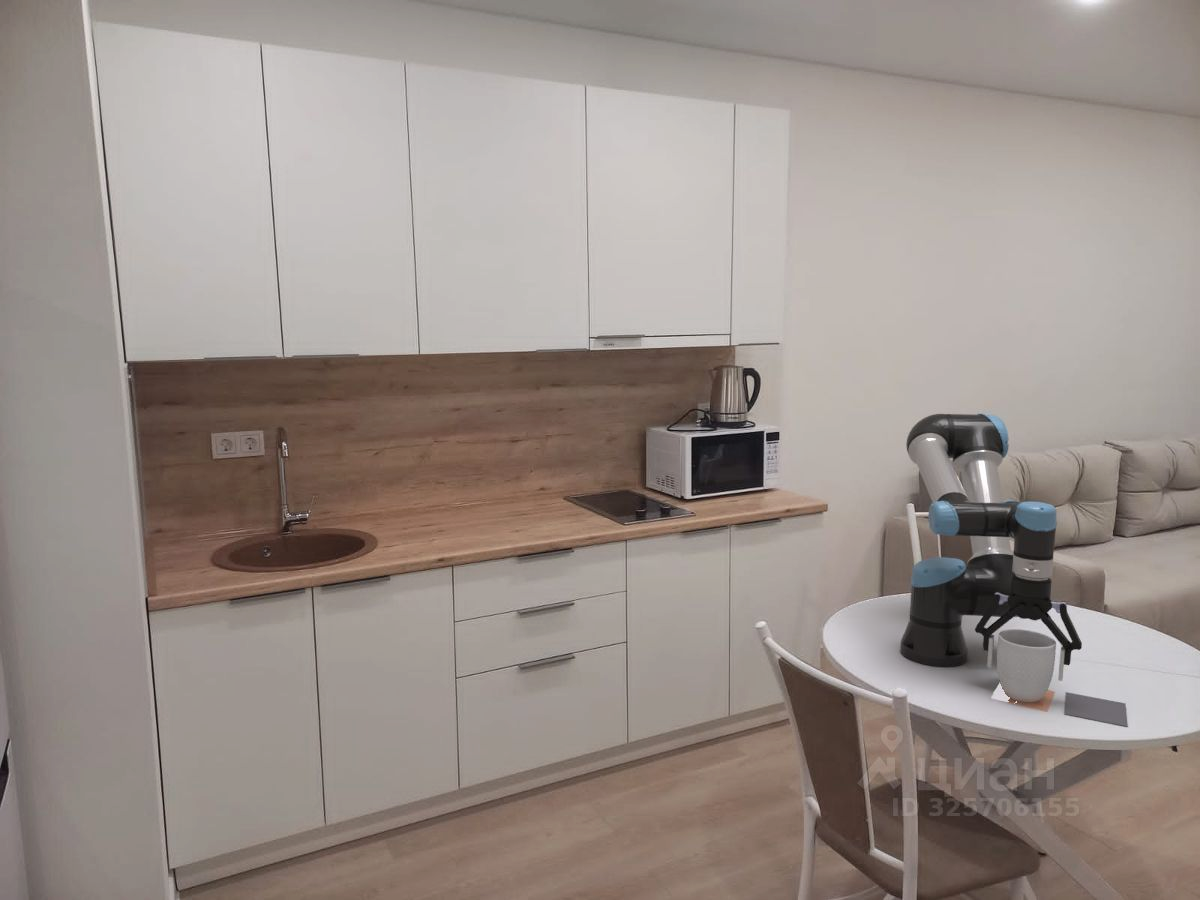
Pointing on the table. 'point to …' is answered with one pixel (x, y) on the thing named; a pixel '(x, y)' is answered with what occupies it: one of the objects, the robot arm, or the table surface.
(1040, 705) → the terracotta tile
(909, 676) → the table surface
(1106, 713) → the charcoal mat
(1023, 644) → the mug
